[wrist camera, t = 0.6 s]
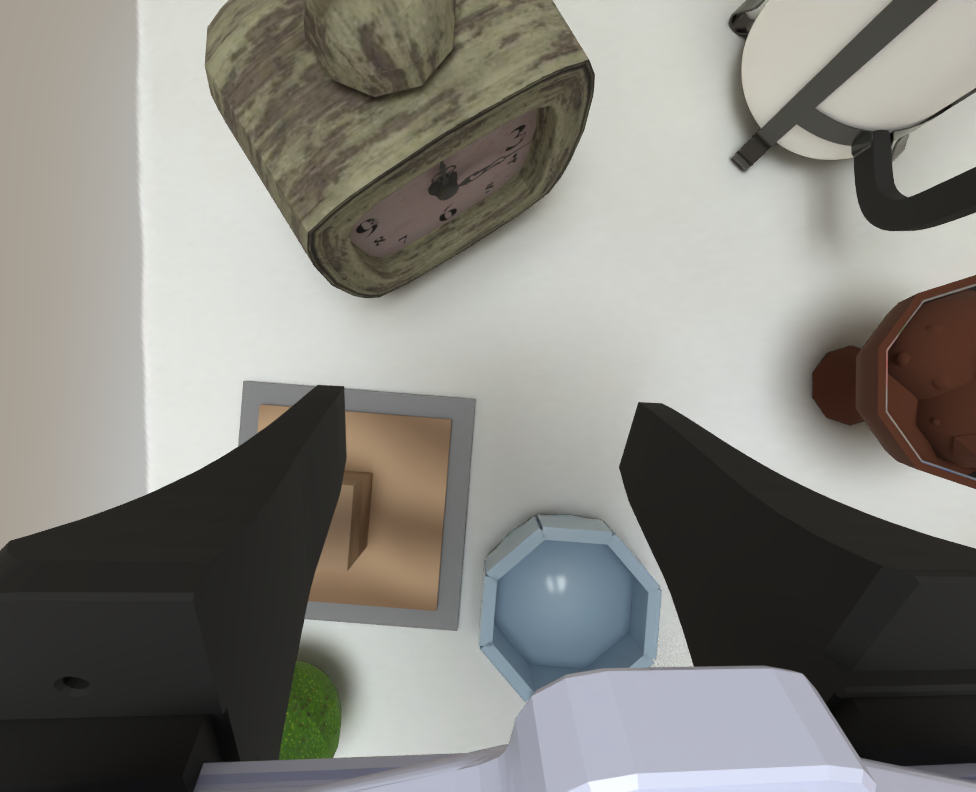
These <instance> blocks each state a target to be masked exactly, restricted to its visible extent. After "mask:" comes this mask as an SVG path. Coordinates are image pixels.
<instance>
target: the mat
mask: <svg viewBox="0 0 976 792" xmlns="http://www.w3.org/2000/svg"><path fill="white" fill-rule="evenodd" d="M314 387H315V386H302V385H289V384H276V383H264V382H251V381H243V393H242V406H241V419H240V431H239V444H238V447H239V446H240V445H241V444H243V443H244V442H246V441H247V440H249V439H250V438H251V437H253V436H254V435H256V434H257V432H258V419H259V406H260V405H261V404H265V405H277V406H290V407H292V406H293V405H294V404H295V403H296V402H298V401H299V400H300V399H301V398H302V397H303V396H305V395H306V394H307V393H308V392H310V391H311V390H312V389H313V388H314ZM344 392H345V411H354V412H367V413H379V414H392V415H405V416H418V417H430V418H443V419H452V425H451V437H450V450H449V463H448V475H447V488H446V501H445V514H444V526H443V539H442V552H441V564H440V577H439V590H438V603H437V610H436V611H429V610H416V609H403V608H390V607H377V606H364V605H352V604H339V603H326V602H313V601H308V604H307V609H306V613H305V618H304V619H311V620H324V621H337V622H350V623H363V624H376V625H388V626H401V627H414V628H427V629H440V630H453V631H457V628H458V615H459V602H460V590H461V577H462V564H463V551H464V539H465V526H466V513H467V501H468V488H469V475H470V462H471V450H472V437H473V424H474V412H475V399H467V398H454V397H442V396H429V395H416V394H404V393H391V392H378V391H365V390H353V389H344Z"/></svg>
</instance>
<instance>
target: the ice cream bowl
mask: <svg viewBox="0 0 976 792" xmlns="http://www.w3.org/2000/svg"><path fill="white" fill-rule="evenodd" d="M812 398H813V399H814V400H815V402H816V403H817V405H818V406H819V407H820V409H821V410H822V412H823V413H824V415H825V416H826V417H827V418H829V419H832V420H835V421H838V422H841V423H844V424H847V425H853V424H856V423H859V422H863V421H865V422H866V424H867V425H868V426H869V428H870V429H871V431H872V432H873V433H874V435H875V436H876V438H877V439H878V441H879V442H880V443H881V445H882V446H883V448H884V449H885V450H886V451H887V452H888V453H889V454H890V455H891V456H892V457H893V458H894V459H895V460H896V461H898V462H901V463H903V464H905V465H908V466H910V467H913V468H915V469H918V470H921V471H924V472H927V473H930V474H933V475H936V476H939V477H942V478H944V479H947V480H950V481H953V482H956V483H959V484H962V485H965V486H968V487H971V488H974V489H976V275H975V276H972V277H968V278H965V279H962V280H959V281H956V282H952V283H949V284H946V285H943V286H940V287H937V288H933V289H930V290H927V291H924V292H921V293H918V294H916V295H914V296H912V297H910V298H907V299H905V300H903V301H901V302H899V303H898V304H897V305H896V306H895V307H894V308H893V309H892V310H891V311H890V312H889V313H888V314H887V315H886V317H885V318H884V319H883V321H882V322H881V323H880V325H879V326H878V327H877V329H876V330H875V331H874V333H873V334H872V336H871V337H870V338H869V340H868V341H867V342H866V344H865V345H864V346H863V348H862V349H860V348H857V347H854V346H848V347H845V348H841V349H838V350H835V351H832V352H829V353H827V354H826V355H825V357H824V358H823V359H822V361H821V362H820V364H819V365H818V366H817V368H816V369H815V370H814V372H813V388H812Z"/></svg>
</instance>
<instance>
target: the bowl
mask: <svg viewBox="0 0 976 792" xmlns="http://www.w3.org/2000/svg"><path fill="white" fill-rule="evenodd" d="M659 587H660V585H659V584H658V583H657V582H656V581H655V580H654V578H653V577H652V576H651V575H650V574H649V573H648V571H647V570H646V569H645V568H644V567H643V566H642V564H641V563H640V562H639V561H638V560H637V558H636V557H635V556H634V555H633V554H632V553H631V551H630V550H629V549H628V548H627V547H626V546H625V544H624V543H623V542H622V541H621V540H620V539H619V537H618V536H617V535H616V534H615V533H614V532H613V531H612V530H611V529H610V527H609V526H608V525H607V524H606V523H605V522H604V521H603V522H602V521H601V520H600V519H587V518H583V517H580V516H575V515H568V514H555V515H538V516H537V518H536V517H535V516H533V517H532V518H531V519H530V520H529V521H527V522H526V523H524V524H522V525H520V526H519V527H517V528H516V529H515V530H513V531H512V532H511V533H509V534H508V535H507V536H506V537H505V538H504V539H503V540H502V541H501V543H500V544H499V545H498V546H497V548H496V549H495V550H494V551H492V552H491V553H490V554H489V555H488V556H487V557H486V560H485V562H484V575H483V586H482V600H481V613H480V630H479V646H480V650H481V651H482V652H483V653H484V654H485V656H486V657H487V658H488V659H489V660H490V661H491V663H492V664H493V665H494V666H495V667H496V668H497V670H498V671H499V672H500V673H501V674H502V675H503V677H504V678H505V679H506V680H507V681H508V682H509V684H510V685H511V686H512V687H513V688H514V689H515V691H516V692H517V693H518V694H519V695H520V696H521V698H522V699H523V700H524V701H525V702H526V701H527V700H528V701H529V699H530V698H531V696H532V695H533V694H534V693H535V692H536V690H538V689H540V688H542V687H544V686H546V685H548V684H550V683H551V682H553V681H555V680H557V679H559V678H561V677H563V676H565V675H567V674H573V673H579V672H584V671H590V670H596V669H602V668H649V667H650V666H651V665H653V664H654V661H653V660H652V659H656V656H657V643H658V631H659V618H660V605H661V592H662V590H661V589H660V588H659Z"/></svg>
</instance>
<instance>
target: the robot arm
mask: <svg viewBox="0 0 976 792" xmlns="http://www.w3.org/2000/svg"><path fill="white" fill-rule="evenodd" d="M346 458H347V452H346V422H345V392H344V386H326V385H317V386H316V387H314V388H313V389H312V390H311V391H310V392H308V393H307V394H306V395H305V396H303V397H302V398H301V399H300V400H299V401H298V402H296V403H295V404H294V405H293V406H292V407H290V408H289V409H288V410H287V411H286V412H284V413H283V414H282V415H281V416H279V417H278V418H277V419H276V420H274V421H273V422H272V423H271V424H269V425H268V426H267V427H265V428H264V429H263V430H261V431H260V432H258V433H257V434H256V435H254V436H253V437H251V438H250V439H249V440H247V441H246V442H244V443H243V444H241V445H240V446H239V447H237V448H235V449H234V450H232V451H231V452H229V453H227V454H226V455H224V456H223V457H221V458H219V459H217V460H216V461H214V462H212V463H210V464H209V465H207V466H205V467H203V468H202V469H200V470H198V471H196V472H194V473H192V474H190V475H188V476H186V477H184V478H181V479H179V480H177V481H175V482H173V483H171V484H169V485H167V486H165V487H162V488H160V489H158V490H156V491H154V492H152V493H149V494H147V495H145V496H142V497H140V498H138V499H135V500H132V501H130V502H127V503H125V504H123V505H120V506H117V507H115V508H112V509H109V510H106V511H104V512H101V513H98V514H95V515H93V516H90V517H87V518H84V519H81V520H78V521H75V522H71V523H68V524H65V525H61V526H58V527H55V528H52V529H48V530H45V531H42V532H39V533H36V534H32V535H29V536H26V537H22V538H18V539H15V540H11V541H10V542H8V543H7V544H6V545H5V546H4V548H2V549H1V551H0V792H976V549H975V548H971V547H968V546H964V545H961V544H957V543H954V542H950V541H947V540H943V539H940V538H936V537H933V536H930V535H927V534H923V533H920V532H917V531H915V530H912V529H909V528H906V527H903V526H900V525H897V524H894V523H891V522H888V521H885V520H883V519H880V518H877V517H875V516H872V515H869V514H867V513H864V512H862V511H859V510H857V509H854V508H852V507H849V506H847V505H845V504H842V503H840V502H837V501H835V500H832V499H830V498H828V497H826V496H823V495H821V494H819V493H817V492H815V491H812V490H810V489H808V488H806V487H804V486H802V485H800V484H798V483H796V482H794V481H792V480H790V479H788V478H786V477H784V476H782V475H780V474H778V473H777V472H775V471H773V470H771V469H769V468H768V467H766V466H764V465H762V464H761V463H759V462H757V461H755V460H754V459H752V458H750V457H748V456H747V455H745V454H743V453H742V452H740V451H739V450H737V449H735V448H734V447H732V446H730V445H729V444H727V443H726V442H724V441H722V440H721V439H719V438H718V437H716V436H715V435H713V434H712V433H710V432H708V431H707V430H705V429H704V428H702V427H701V426H699V425H698V424H696V423H695V422H693V421H691V420H690V419H688V418H687V417H685V416H683V415H682V414H680V413H679V412H677V411H675V410H673V409H672V408H670V407H668V406H666V405H664V404H662V403H643V402H638V406H637V409H636V412H635V416H634V419H633V422H632V426H631V429H630V433H629V436H628V439H627V443H626V446H625V449H624V453H623V456H622V459H621V463H620V466H619V469H620V472H621V476H622V480H623V483H624V487H625V490H626V493H627V497H628V500H629V502H630V505H631V507H632V509H633V512H634V514H635V516H636V518H637V520H638V523H639V525H640V527H641V529H642V531H643V533H644V536H645V538H646V540H647V542H648V544H649V546H650V548H651V550H652V553H653V555H654V557H655V559H656V561H657V563H658V565H659V568H660V570H661V572H662V574H663V576H664V579H665V581H666V584H667V586H668V588H669V591H670V593H671V596H672V599H673V602H674V605H675V608H676V611H677V614H678V617H679V620H680V623H681V626H682V629H683V632H684V635H685V639H686V642H687V645H688V649H689V652H690V655H691V658H692V662H693V665H694V667H649V668H602V669H596V670H590V671H584V672H579V673H573V674H567V675H565V676H563V677H561V678H559V679H557V680H555V681H553V682H551V683H550V684H548V685H546V686H544V687H542V688H540V689H538V690H536V692H535V693H534V694H533V695H532V696H531V698H530V699H529V701H528V702H527V703H526V705H525V706H524V708H523V709H522V710H521V712H520V713H519V714H518V716H517V717H516V719H515V723H514V727H513V731H512V735H511V739H510V742H509V744H507V745H502V746H497V747H492V748H488V749H483V750H479V751H474V752H470V753H458V754H432V755H405V756H378V757H351V758H325V759H298V760H279V754H280V748H281V742H282V736H283V730H284V725H285V719H286V713H287V708H288V702H289V697H290V691H291V685H292V680H293V674H294V669H295V664H296V659H297V654H298V649H299V643H300V638H301V633H302V628H303V623H304V618H305V613H306V609H307V604H308V599H309V594H310V590H311V586H312V582H313V578H314V575H315V571H316V568H317V565H318V562H319V559H320V556H321V553H322V549H323V546H324V543H325V540H326V537H327V534H328V531H329V528H330V525H331V521H332V518H333V515H334V512H335V509H336V506H337V502H338V499H339V496H340V492H341V487H342V482H343V476H344V470H345V464H346Z"/></svg>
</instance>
